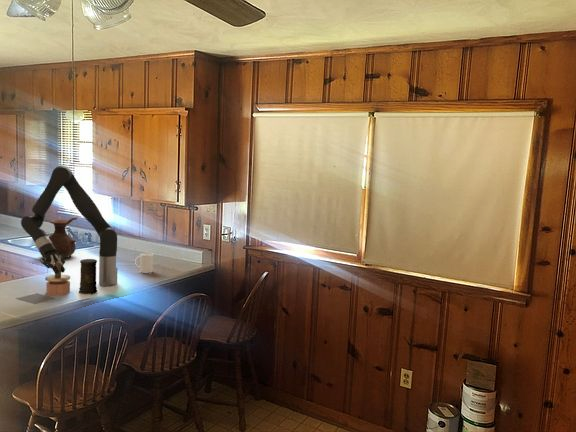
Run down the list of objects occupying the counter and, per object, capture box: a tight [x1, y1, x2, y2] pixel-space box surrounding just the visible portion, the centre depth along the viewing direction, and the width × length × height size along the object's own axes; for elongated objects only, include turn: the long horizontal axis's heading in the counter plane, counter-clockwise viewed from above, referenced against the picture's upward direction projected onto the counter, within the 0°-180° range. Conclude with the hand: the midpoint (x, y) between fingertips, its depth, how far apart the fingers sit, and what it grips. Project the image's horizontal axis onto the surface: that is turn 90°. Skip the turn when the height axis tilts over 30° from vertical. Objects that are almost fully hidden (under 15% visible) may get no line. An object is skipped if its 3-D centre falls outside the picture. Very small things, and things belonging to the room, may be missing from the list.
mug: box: [134, 252, 154, 273], centre depth 303 cm, size 12×8×12 cm
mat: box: [15, 292, 57, 305], centre depth 236 cm, size 12×15×1 cm
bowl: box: [45, 280, 71, 296], centre depth 248 cm, size 11×11×6 cm
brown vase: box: [48, 215, 79, 258], centre depth 329 cm, size 22×22×30 cm
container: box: [78, 258, 98, 295], centre depth 251 cm, size 9×9×18 cm
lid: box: [44, 262, 71, 282], centre depth 247 cm, size 12×12×9 cm
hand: (60, 272), depth 246 cm, fingers closed on lid, 3 cm apart
